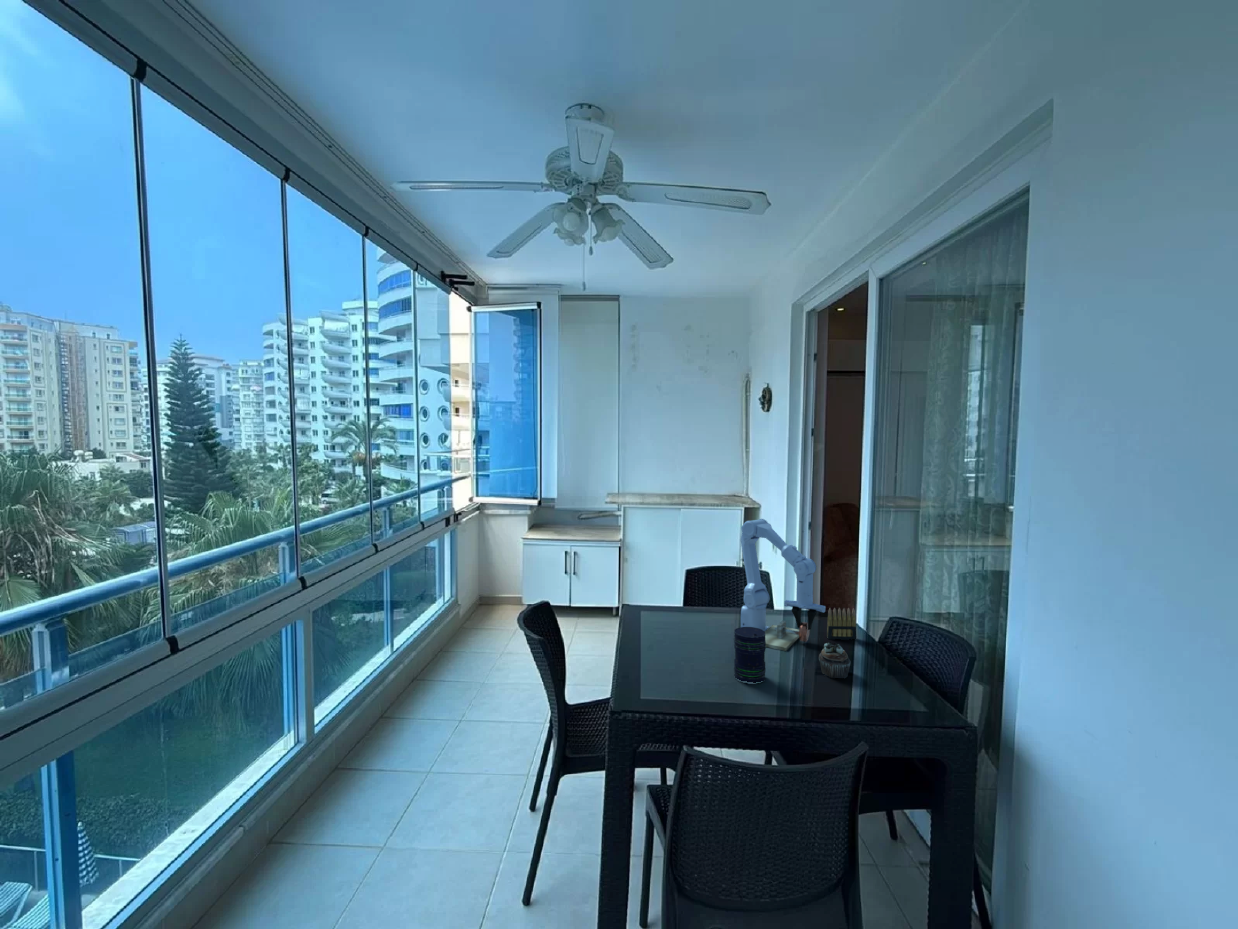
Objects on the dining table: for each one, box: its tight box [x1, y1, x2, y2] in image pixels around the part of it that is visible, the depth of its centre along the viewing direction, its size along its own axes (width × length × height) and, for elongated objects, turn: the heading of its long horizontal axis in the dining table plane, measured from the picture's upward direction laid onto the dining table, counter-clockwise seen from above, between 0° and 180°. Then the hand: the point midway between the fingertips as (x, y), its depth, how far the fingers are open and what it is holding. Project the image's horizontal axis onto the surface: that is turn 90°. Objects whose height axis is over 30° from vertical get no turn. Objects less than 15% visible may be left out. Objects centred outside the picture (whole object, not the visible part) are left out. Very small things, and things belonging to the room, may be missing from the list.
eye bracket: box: [765, 620, 799, 652], centre depth 213 cm, size 12×22×6 cm, turn 147°
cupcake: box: [818, 641, 852, 679], centre depth 180 cm, size 10×10×10 cm
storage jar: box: [733, 626, 767, 683], centre depth 177 cm, size 10×10×15 cm
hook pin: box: [775, 621, 810, 643], centre depth 210 cm, size 12×7×7 cm, turn 57°
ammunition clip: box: [825, 607, 857, 641], centre depth 212 cm, size 11×2×12 cm, turn 86°
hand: (804, 628), depth 207 cm, fingers open, 3 cm apart
